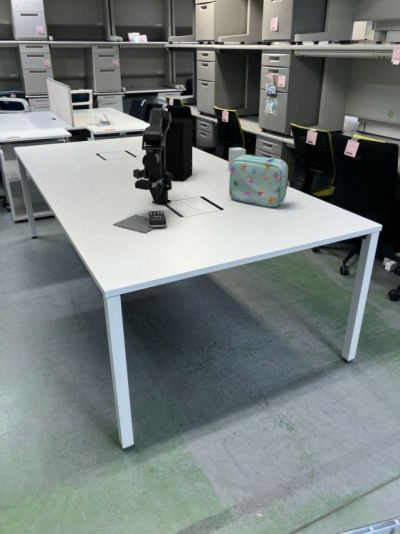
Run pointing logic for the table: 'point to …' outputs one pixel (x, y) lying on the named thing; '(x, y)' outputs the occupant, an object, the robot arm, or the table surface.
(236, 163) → the lunch box
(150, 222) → the battery charger
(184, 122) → the video game console
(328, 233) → the table surface
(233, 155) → the supplement box
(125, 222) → the mat
